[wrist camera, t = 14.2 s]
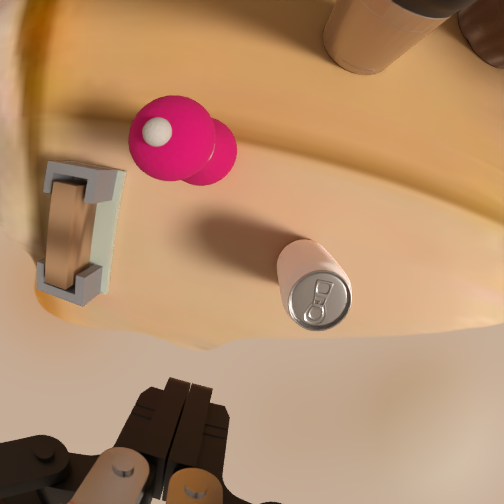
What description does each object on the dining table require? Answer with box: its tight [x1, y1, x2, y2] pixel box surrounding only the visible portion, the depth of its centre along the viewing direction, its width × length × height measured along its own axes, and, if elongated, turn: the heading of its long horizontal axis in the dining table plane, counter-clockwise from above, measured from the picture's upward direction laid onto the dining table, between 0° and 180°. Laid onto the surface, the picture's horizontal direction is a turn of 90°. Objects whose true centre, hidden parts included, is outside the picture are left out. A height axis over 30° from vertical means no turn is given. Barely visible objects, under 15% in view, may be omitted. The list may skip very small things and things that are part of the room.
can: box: [277, 239, 352, 331], centre depth 33 cm, size 6×6×12 cm
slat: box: [45, 180, 97, 290], centre depth 34 cm, size 12×3×6 cm, turn 166°
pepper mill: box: [129, 96, 237, 186], centre depth 26 cm, size 7×7×20 cm
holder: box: [37, 161, 127, 307], centre depth 35 cm, size 16×9×6 cm, turn 166°
